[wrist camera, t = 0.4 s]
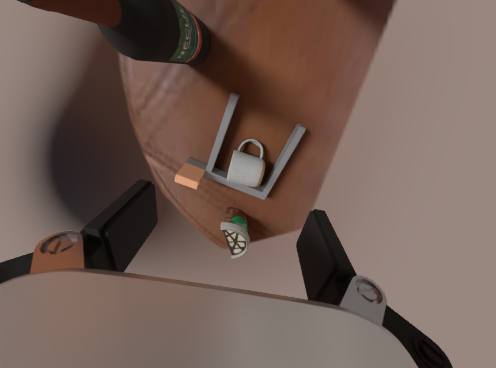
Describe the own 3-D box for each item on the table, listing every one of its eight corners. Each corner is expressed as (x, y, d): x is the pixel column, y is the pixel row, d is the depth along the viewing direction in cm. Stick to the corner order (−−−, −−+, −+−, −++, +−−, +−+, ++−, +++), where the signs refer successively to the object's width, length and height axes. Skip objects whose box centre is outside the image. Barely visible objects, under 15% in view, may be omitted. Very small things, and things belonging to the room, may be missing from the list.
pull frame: (210, 81, 39) (198, 84, 31) (303, 125, 42) (312, 137, 34) (187, 163, 49) (174, 181, 41) (264, 193, 52) (264, 214, 45)
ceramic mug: (258, 179, 50) (257, 195, 44) (228, 171, 50) (223, 186, 43) (270, 142, 45) (272, 154, 38) (237, 133, 44) (233, 143, 38)
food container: (254, 231, 61) (253, 258, 52) (235, 233, 61) (231, 259, 53) (246, 201, 54) (243, 225, 46) (226, 203, 55) (219, 228, 47)
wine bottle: (171, 9, 33) (-125, -188, 8) (212, 21, 34) (63, -130, 8) (170, 59, 37) (-27, 36, 12) (208, 69, 38) (97, 67, 12)
